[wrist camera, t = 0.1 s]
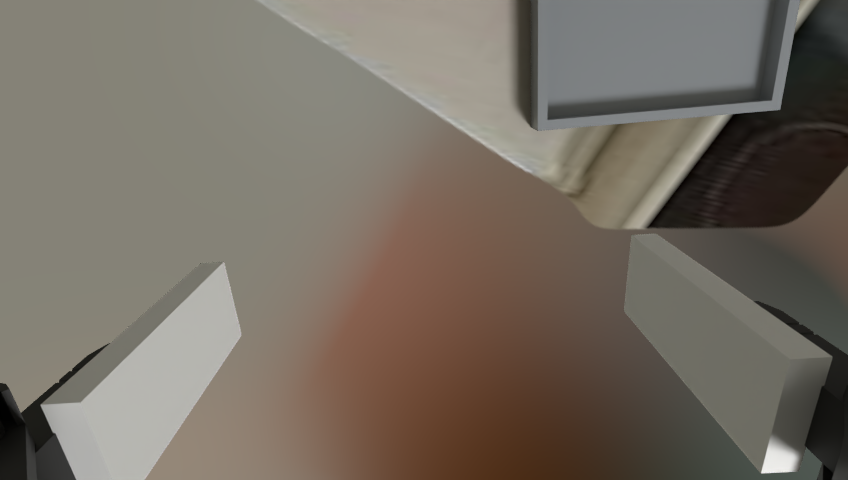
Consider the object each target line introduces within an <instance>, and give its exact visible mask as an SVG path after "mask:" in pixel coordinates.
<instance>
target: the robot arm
mask: <svg viewBox="0 0 848 480" xmlns="http://www.w3.org/2000/svg"><path fill="white" fill-rule="evenodd" d="M624 311H625V313H626V314H627V315H628V316H629V317H630V319H631V320H632V321H633V322H634V323H635V324H636V326H637V327H638V328H639V329H640V331H641V332H642V333H643V334H644V335H645V336H646V338H647V339H648V340H649V341H650V342H651V344H652V345H653V346H654V347H655V348H656V350H657V351H658V352H659V353H660V354H661V355H662V357H663V358H664V359H665V360H666V361H667V363H668V364H669V365H670V366H671V367H672V369H673V370H674V371H675V372H676V373H677V374H678V376H679V377H680V378H681V379H682V380H683V382H684V383H685V384H686V385H687V386H688V387H689V389H690V390H691V391H692V392H693V393H694V395H695V396H696V397H697V398H698V399H699V401H700V402H701V403H702V404H703V405H704V406H705V408H706V409H707V410H708V411H709V412H710V413H711V415H712V416H713V417H714V418H715V419H716V421H717V422H718V423H719V424H720V425H721V427H722V428H723V429H724V430H725V431H726V433H727V434H728V435H729V436H730V437H731V438H732V440H733V441H734V442H735V443H736V444H737V446H738V447H739V448H740V449H741V450H742V451H743V453H744V454H745V455H746V456H747V457H748V459H749V460H750V461H751V462H752V463H753V464H754V466H755V467H756V468H757V469H758V470H759V472H760V473H775V472H776V473H777V472H793V471H799V470H800V466H801V463H802V459H803V456H804V453H805V449H806V447H807V448H808V449H809V450H810V451H811V452H812V453H813V454H814V455H815V456H816V457H817V458H818V459H819V460H820V461H821V462H822V465H821V468H820V471H819V475H818V478H817V480H848V355H847V354H845V353H844V352H842V351H841V350H839V349H838V348H836V347H835V346H833V345H832V344H830V343H829V342H827V341H826V340H825V339H823V338H821V337H820V336H819V335H814V334H813V331H811V330H810V329H808V328H807V327H805V326H803V325H799V322H797V321H796V320H795V319H793V318H792V317H790V316H788V315H787V314H786V313H784V312H783V311H781V310H779V309H776V308H774V307H771V306H769V305H766V304H764V303H761V302H759V301H752V300H750V299H749V298H748V297H746V296H745V295H743V294H742V293H740V292H739V291H737V290H736V289H735V288H733V287H732V286H730V285H729V284H727V283H726V282H724V281H723V280H722V279H720V278H719V277H717V276H716V275H715V274H713V273H711V272H710V271H709V270H707V269H706V268H704V267H703V266H701V265H700V264H699V263H697V262H696V261H694V260H693V259H691V258H690V257H689V256H687V255H686V254H684V253H683V252H682V251H680V250H679V249H677V248H676V247H674V246H673V245H671V244H670V243H669V242H667V241H666V240H664V239H663V238H661V237H660V236H659V235H657V234H641V235H632V237H631V247H630V258H629V267H628V277H627V287H626V297H625V307H624ZM241 335H242V334H241V330H240V326H239V322H238V318H237V313H236V309H235V305H234V301H233V297H232V293H231V289H230V284H229V280H228V276H227V272H226V268H225V264H224V262H213V263H200V264H199V265H198V266H197V267H196V268H195V269H194V270H192V271H191V272H190V273H189V274H188V275H187V276H186V277H185V278H183V279H182V280H181V281H180V282H179V283H178V284H177V285H175V286H174V287H173V288H172V289H171V290H170V291H169V292H167V294H165V295H164V296H163V297H162V298H161V299H160V300H158V301H157V302H156V303H155V304H154V305H153V306H152V307H151V308H149V309H148V310H147V311H146V312H145V313H144V314H143V315H141V316H140V317H139V318H138V319H137V320H136V321H135V322H134V323H132V324H131V325H130V326H129V327H128V328H127V329H126V330H125V331H123V332H122V333H121V334H120V335H119V336H118V337H117V338H116V339H114V340H113V341H112V342H111V343H109V344H107V345H105V346H103V347H102V348H100V349H98V350H96V351H95V352H93V353H91V354H89V355H88V356H87V357H86V358H84V359H83V360H82V361H81V362H80V363H78V364H77V365H76V366H75V367H74V368H73V370H72V371H69V372H68V373H67V374H66V375H65V376H63V377H62V378H61V379H60V380H59V383H55V384H54V385H53V386H52V387H51V388H49V389H48V390H47V391H46V392H45V393H44V394H43V395H41V396H40V397H39V398H38V399H37V400H35V401H34V402H33V403H32V404H31V405H30V406H29V407H27V408H26V409H25V410H24V411H23V412H22V413H20V411H19V408H18V406H17V404H16V402H15V400H14V398H13V396H12V394H11V392H10V390H9V388H8V386H7V385H6V384H3V383H0V480H145V478H146V477H147V475H148V474H149V472H150V471H151V469H152V468H153V466H154V465H155V463H156V462H157V460H158V459H159V457H160V456H161V455H162V453H163V452H164V450H165V449H166V447H167V446H168V444H169V443H170V441H171V440H172V438H173V437H174V435H175V434H176V432H177V431H178V429H179V428H180V426H181V425H182V423H183V422H184V420H185V419H186V417H187V416H188V414H189V413H190V411H191V410H192V408H193V407H194V405H195V404H196V402H197V401H198V399H199V398H200V396H201V395H202V393H203V392H204V390H205V389H206V388H207V386H208V384H209V383H210V382H211V380H212V379H213V377H214V376H215V374H216V372H217V371H218V370H219V368H220V367H221V365H222V364H223V362H224V361H225V359H226V358H227V356H228V355H229V353H230V352H231V350H232V349H233V347H234V346H235V344H236V343H237V341H238V340H239V338H240V337H241Z"/></svg>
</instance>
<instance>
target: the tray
mask: <svg viewBox="0 0 848 480" xmlns="http://www.w3.org/2000/svg"><path fill="white" fill-rule="evenodd" d="M799 4H800V0H531V128H533V129H535V130H537V131H542V130H553V129H564V128H576V127H587V126H599V125H610V124H622V123H633V122H645V121H656V120H668V119H679V118H691V117H702V116H714V115H725V114H737V113H748V112H760V111H771V110H780V107H781V102H782V96H783V91H784V85H785V80H786V74H787V69H788V64H789V58H790V53H791V47H792V42H793V36H794V31H795V25H796V20H797V15H798V9H799Z"/></svg>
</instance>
